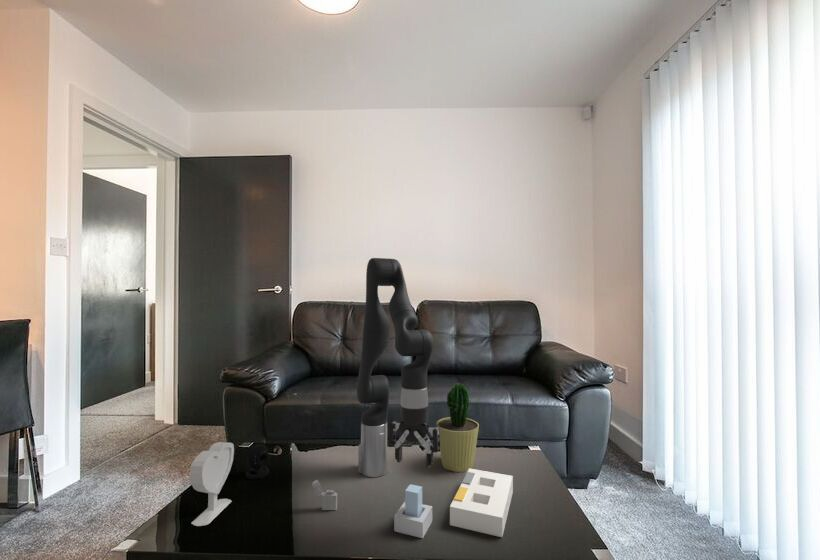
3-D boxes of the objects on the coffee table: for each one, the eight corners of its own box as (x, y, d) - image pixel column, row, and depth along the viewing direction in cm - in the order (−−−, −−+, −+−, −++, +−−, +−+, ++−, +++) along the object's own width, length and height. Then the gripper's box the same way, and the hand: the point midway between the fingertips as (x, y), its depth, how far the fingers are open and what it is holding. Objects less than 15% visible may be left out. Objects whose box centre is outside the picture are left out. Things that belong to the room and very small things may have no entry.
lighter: (337, 507, 113) (337, 479, 113) (336, 510, 111) (336, 482, 111) (313, 507, 113) (313, 479, 113) (311, 510, 111) (311, 482, 111)
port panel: (449, 525, 104) (449, 504, 105) (469, 483, 127) (469, 467, 127) (502, 537, 99) (502, 516, 100) (512, 491, 122) (512, 474, 122)
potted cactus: (449, 452, 151) (449, 375, 152) (485, 462, 142) (485, 381, 143) (428, 466, 139) (428, 383, 140) (466, 479, 130) (466, 389, 131)
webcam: (254, 482, 127) (255, 451, 127) (240, 476, 131) (241, 446, 131) (274, 472, 134) (274, 443, 134) (260, 467, 138) (260, 439, 138)
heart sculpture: (203, 528, 102) (205, 460, 103) (186, 527, 103) (187, 459, 103) (235, 497, 118) (236, 438, 118) (220, 496, 118) (221, 437, 119)
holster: (394, 531, 102) (394, 515, 102) (405, 514, 109) (405, 500, 109) (422, 538, 99) (422, 522, 99) (432, 520, 106) (432, 506, 106)
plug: (405, 528, 103) (405, 490, 103) (409, 520, 106) (410, 484, 107) (417, 531, 102) (417, 493, 102) (422, 523, 105) (422, 486, 105)
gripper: (384, 404, 104) (384, 465, 103) (434, 410, 99) (435, 474, 98) (395, 397, 111) (395, 454, 110) (443, 402, 106) (443, 462, 105)
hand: (414, 463), depth 104 cm, fingers open, 8 cm apart
